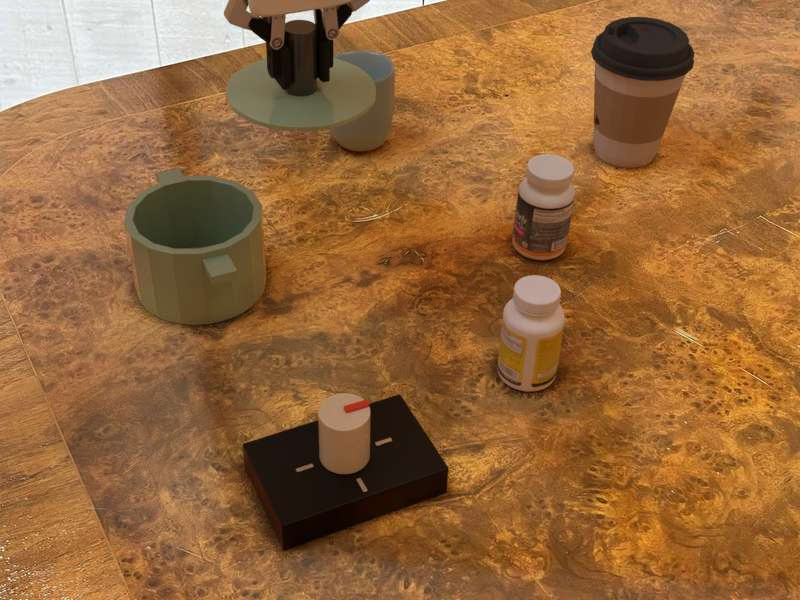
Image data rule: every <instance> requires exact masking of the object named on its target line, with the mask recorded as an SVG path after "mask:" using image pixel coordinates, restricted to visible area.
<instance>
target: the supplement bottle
mask: <svg viewBox="0 0 800 600" xmlns="http://www.w3.org/2000/svg"><path fill="white" fill-rule="evenodd" d="M561 295H562V291H561V287H560V285H559V284H558V283H557V282H556V281H555V280H553V279H552V278H549V277H547V276H544V275H539V274H537V275H536V274H535V275H534V274H531V275H526V276H523V277H521V278H519V279H518V280H517V281H516V282H515V284H514V287H513V293H512V297H511V299H510V300H508V301H507V302H506V303H505V306H504V308H503V312H502V318H501V328H500V336H499V344H498V345H499V346H498V354H497V366H496V367H497V374H498V376H499V378H500V379H501V381H502V382H503V383H504V384H506V385H507V386H509V387H510V388H512V389H514V390H517V391H521V392H538V391H541V390H545V389H546V388H548V387H549V386H551V385H552V383H554V381H555V380H556V378H557V377H556V376H557V372H558V367H559V359H560V356H561V355H560V354H561V349H562V348H561V347H562V342H563V335H564V329H565V322H566V321H565V320H566V319H565V318H566V317H565V311H564V309H563V307H562V305H560V304H561Z"/></svg>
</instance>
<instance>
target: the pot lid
mask: <svg viewBox="0 0 800 600" xmlns="http://www.w3.org/2000/svg"><path fill="white" fill-rule="evenodd" d="M284 39H285V44H286V45H287V46H288V47H289V49H290V60H291V87H290V88H289V89H286V90H283V89H282V88H281V86H280V85H279V84H278V83H277V81H276V80H275V79H274V78H271V77H270V75H269V73H268V70H267V57H266V58H263V59H259V60H256V61H253V62H252V63H249V64H247V65H245V66H243V67H242V68H240V69H238V70H237V71H236V72H235V73H233V75H232V76H231V77H230V78H229V80H228V81H227V84H226V87H225V99H226V102H227V104H228V106H229V108H230V109H231V110H232V111H233V113H235V114H236V115H238V116H239V117H241V118H242V119H244V120H245V121H247V122H248V123H252V124H254V125H256V126H260V127H263V128H266V129H271V130H276V131H283V132H298V133H299V132H300V133H301V132H302V133H303V132H317V131H324V130H331V128H335V127H339V126H342V125H345V124H348V123H350V122H352V121H354V120H356V119H358V118H360V117H361V116H363V115H364V114H365V113H367V112H368V110H369V109H370V108H371V107H372V105H373V104H374V101H375V99H376V87H375V84H374V82H373V80H372V79H371V77H370V76H369V75H368V74H367V73H366V72H365V71H363V70H362V69H360V68H359V67H357V66H355V65H353V64H351V63H348V62H346V61H343V60H340V59H336V58H333V67H332V68H330V81H329V82H322V81H320V80H319V78H318V67H317V26H316V24H315V22H313V21H310V20H308V19H307V20H306V19H292V20H289V21H285V34H284Z"/></svg>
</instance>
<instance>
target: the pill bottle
mask: <svg viewBox="0 0 800 600" xmlns="http://www.w3.org/2000/svg"><path fill="white" fill-rule="evenodd" d="M525 170H526V171H525V177H524V178H523V179H522V180H521V182H520V184H519V186H518V189H517V190H518V191H517V199H516V206H515V213H514V214H515V215H514V221H513V228H512V236H511V237H512V238H511V240H512V241H511V242H512V245H513V247H514V249H515V251H517V252H518V253H519V254H520V255H521V256H523V257H525V258H527V259H531V260H535V261H548V260H549V261H550V260H553V259H556V258H558V257H560V256H561V255H562V254H563V253H564V251H565V250H566V249H567V244H568V239H569V233H570V227H571V222H572V216H573V211H574V204H575V197H576V191H575V187H574V184H573V183H572V182H573V181H574V174H575V167H574V165H573V163H572V162H571V161H570V160H569V159H567V158H566V157H564V156H561V155H557V154H552V153H543V154H538V155H534V156H533V157H531V158H530V159H529V160H528V162H527V163H526V169H525Z"/></svg>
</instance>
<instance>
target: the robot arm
mask: <svg viewBox="0 0 800 600" xmlns="http://www.w3.org/2000/svg"><path fill="white" fill-rule="evenodd" d="M370 1H371V0H228V2H227V4H226V6H225V9H224V10H223V16H224V18H225V19H226V20H227V22H228V23H229V24H230V25H232V26H236V27H238V28H241V29H244V30H248V31H251V32H252V33H253V34H255V36H257V37H259V39H261V40H263V42H265V46H266V47H265V48H266V49H265V50H266V52H265V53H266V58H267V70H268V73H269V75H270V77H271V78H274V79H275V80H276V81H277V83H278V84H279V85H280V86H281V88H282V89H283V90H286V89H289V88H290V87H291V60H290V49H289V47H288V46H287V45H286V44H285V39H284V34H285V23H286V18H287V17H286V15H290V14H291V15H292V14H297V13H304V12H310V11H312V12H313V21H314V24H316V26H317V67H318V78H319V80H320V81H322V82H329V81H330V68H332V67H333V56H334V40H336V39H337V38H338V37H339V34H340V29H341V28H342V27H343V25H345V23H346V22H347V21H348V20H349V19H350V17H351V16H352V14H353V13H354V12H356V11H358V10H360V9H361V8H362V7H363V6H365V5H367V4H368V3H369V2H370ZM247 9H249V11H248V10H247Z"/></svg>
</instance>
